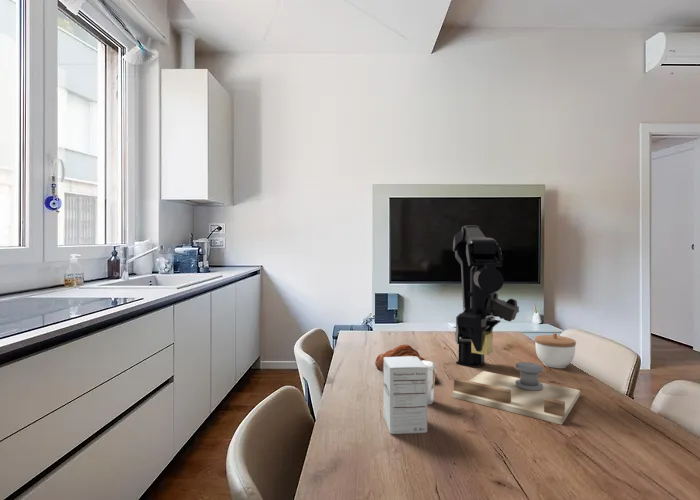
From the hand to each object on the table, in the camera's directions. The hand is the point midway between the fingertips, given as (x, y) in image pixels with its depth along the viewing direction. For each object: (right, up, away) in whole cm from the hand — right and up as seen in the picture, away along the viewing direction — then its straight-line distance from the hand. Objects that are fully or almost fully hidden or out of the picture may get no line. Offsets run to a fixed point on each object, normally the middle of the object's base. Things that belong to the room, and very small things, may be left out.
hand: (482, 349), depth 102 cm
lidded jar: (+27, -9, +16) cm, 32 cm away
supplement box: (-23, -9, -24) cm, 34 cm away
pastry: (-19, -9, +8) cm, 22 cm away
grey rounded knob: (+10, -8, -5) cm, 13 cm away
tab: (0, -1, 0) cm, 1 cm away
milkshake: (-16, -9, -12) cm, 22 cm away
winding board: (+5, -9, -8) cm, 13 cm away
